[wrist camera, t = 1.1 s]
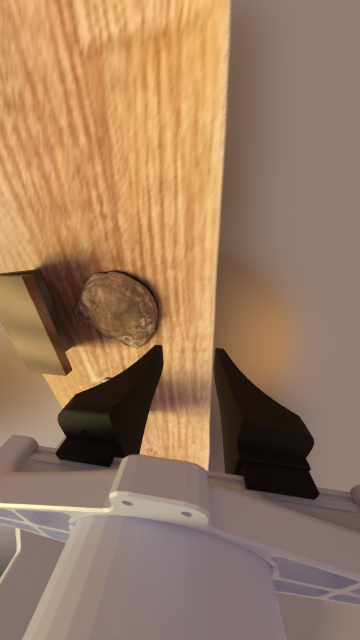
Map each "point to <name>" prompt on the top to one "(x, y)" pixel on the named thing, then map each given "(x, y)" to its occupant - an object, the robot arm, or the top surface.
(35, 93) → the top surface
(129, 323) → the shell
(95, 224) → the top surface
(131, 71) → the top surface
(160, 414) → the top surface
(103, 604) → the robot arm
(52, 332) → the walnut shelf
